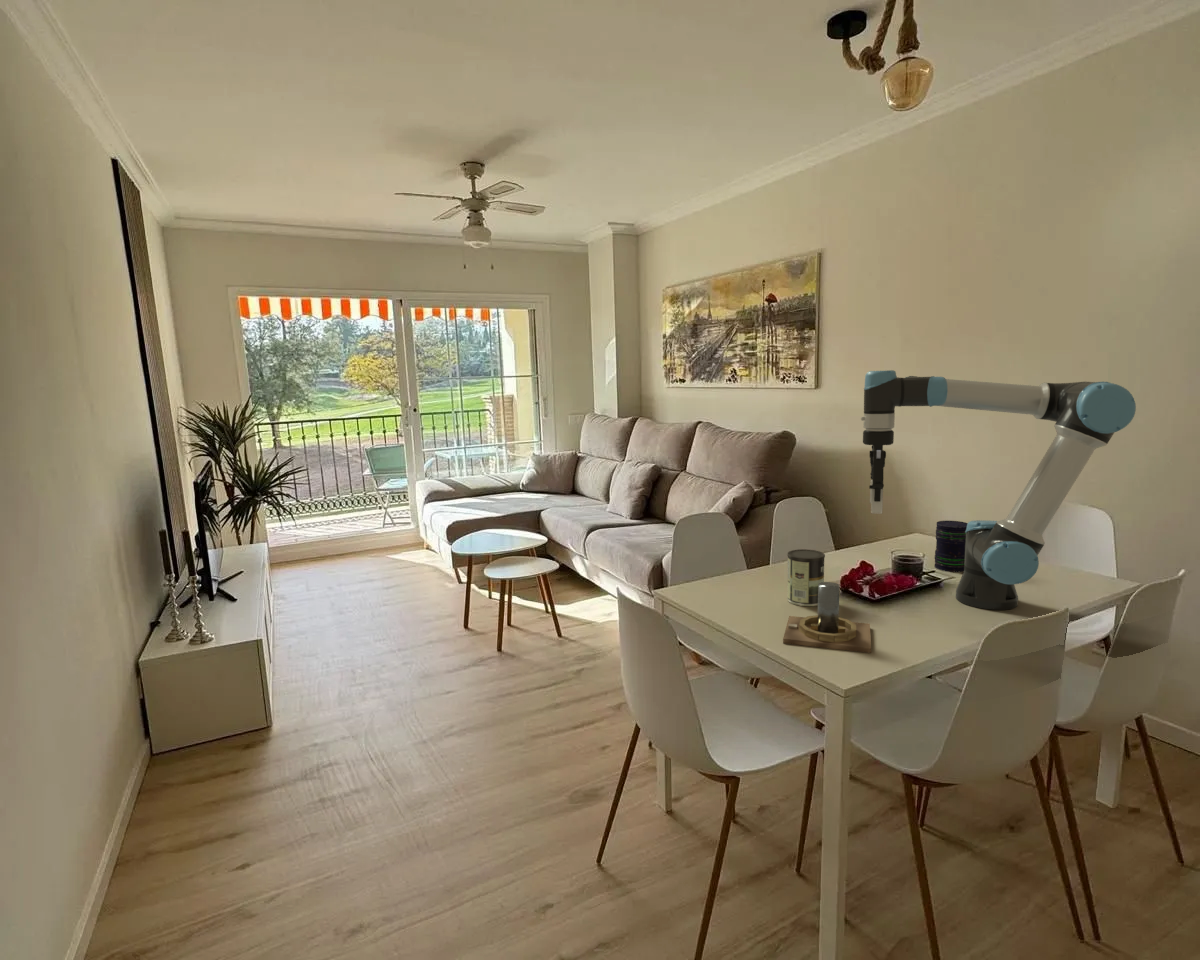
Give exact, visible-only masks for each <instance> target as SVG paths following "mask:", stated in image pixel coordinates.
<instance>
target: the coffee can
mask: <svg viewBox="0 0 1200 960" xmlns="http://www.w3.org/2000/svg"><path fill="white" fill-rule="evenodd" d="M786 555H787V598H786V599H787V601H788V602H789V603H790V604H792V605H795V606H799V607H818V584H819V583H821V582H825V558H826V554H825V553H824V552H822V551H820V550H815V549H805V548H804V549H802V548H800V549H799V548H798V549H793V550H790V551H788V552H787V553H786Z"/></svg>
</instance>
